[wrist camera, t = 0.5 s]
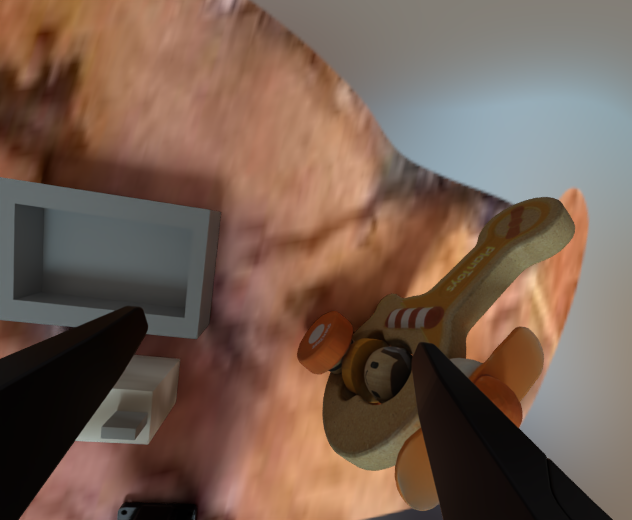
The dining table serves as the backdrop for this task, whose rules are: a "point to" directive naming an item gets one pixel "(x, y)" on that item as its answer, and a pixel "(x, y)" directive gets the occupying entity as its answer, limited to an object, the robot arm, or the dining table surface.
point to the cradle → (104, 258)
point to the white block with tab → (136, 402)
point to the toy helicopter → (443, 331)
